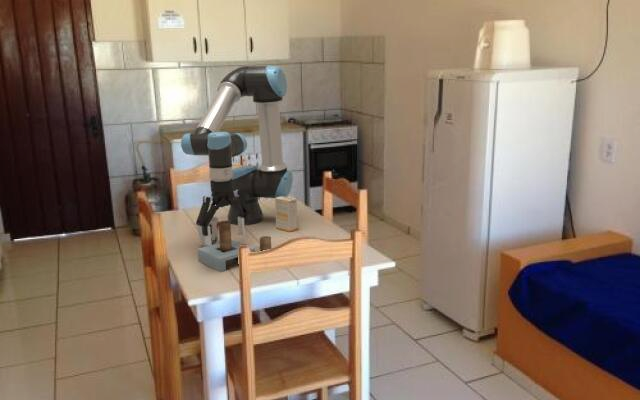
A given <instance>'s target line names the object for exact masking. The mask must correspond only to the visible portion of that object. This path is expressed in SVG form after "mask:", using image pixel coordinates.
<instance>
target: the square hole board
mask: <svg viewBox="0 0 640 400" xmlns="http://www.w3.org/2000/svg"><path fill="white" fill-rule="evenodd" d="M231 242H232V250H231V251H228V252H224V253H223V252H221V251H220V242H217V243H216V244H213V245H210V246H206V247H203V246H202V247H199V248H197V250H196V251H197V260H198V262H199V263H202V264H203V265H206V266H208V267H210V268H212V269H214V270H216V271H218V272H220V273H222V272H224V271H227V263H226V262H225V261H227V260H230V259H236V258H239V257H238V247H239V246H240V245H245V244H244V243H241V242H239V241H237V240H234V239H231ZM247 246H248V247H249V249H250V251H251V252H255V251H256V249H255V248H254V247H252V246H249V245H247ZM255 253H256V252H255Z"/></svg>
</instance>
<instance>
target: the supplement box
mask: <svg viewBox="0 0 640 400" xmlns="http://www.w3.org/2000/svg"><path fill="white" fill-rule="evenodd" d="M297 201H298V200H297V198H295V197H290V196H287V197H286V196H280V197H277V198H274V205H275V225H276V227H275V228H276V229H278V230H280V231H281V230H282V231H285V232H288V233H292V232H294V231H298V228H299V227H298V206H297V203H298V202H297Z"/></svg>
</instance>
